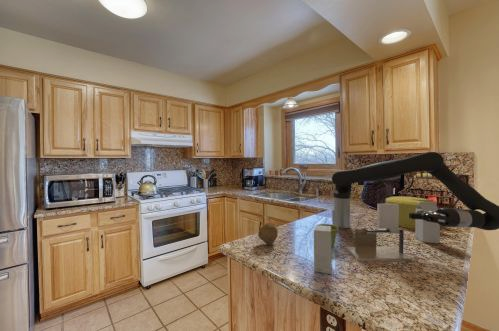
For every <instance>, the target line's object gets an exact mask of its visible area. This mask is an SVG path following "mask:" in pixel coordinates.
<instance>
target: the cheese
mask: <svg viewBox="0 0 499 331" xmlns="http://www.w3.org/2000/svg"><path fill="white" fill-rule="evenodd" d="M419 202H435V201H434V200H431V199H427V198H424V197H423V198H421V197H416V196H415V197H414V196H400V195H399V196H397V195H396V196H389V197H386V198H385V204H399V227H401V226H402V227H403V228H407V229H408V228H409V229H415V220H416V219H411V218H409V213H416V207H417V206H418V205H419Z"/></svg>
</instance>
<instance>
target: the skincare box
mask: <svg viewBox="0 0 499 331" xmlns="http://www.w3.org/2000/svg"><path fill="white" fill-rule="evenodd" d="M332 248H333V247H331V226H322V225H319V224H317V225H315V226H314V229H313V269H314V270H313V271H314V272H315V273H316V272H317V273H323V274H328V275H332V266H333V265H332V264H333V263H332V260H333V258H332Z"/></svg>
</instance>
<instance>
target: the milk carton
mask: <svg viewBox="0 0 499 331" xmlns="http://www.w3.org/2000/svg"><path fill="white" fill-rule="evenodd" d="M438 209H439V207H438V205H437V202H436V201H434V202H419V205H418V206H417V207H416V213H417V211H421V210H423V211H424V212H429V211H434V212H436V211H437V210H438ZM414 230H415V231H414V232H415V233H414V234H415V235H414V238H416V239H418V240H419V241H421V242H422V243H434V244H440V242H441V241H440V238H441V236H440V235H441V226H440V225H439V224H438V223H434V222H427V221H425V220H420V219H416V220H415V228H414Z"/></svg>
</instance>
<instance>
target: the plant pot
mask: <svg viewBox="0 0 499 331" xmlns="http://www.w3.org/2000/svg"><path fill="white" fill-rule="evenodd" d="M318 225H322V226H331V248H334V247H335V244H336V238H337V233H338V230H339V229H340V228H338V227H337V226H334V225H332V224H329V223H328V224H327V223H320V224H318Z"/></svg>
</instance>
